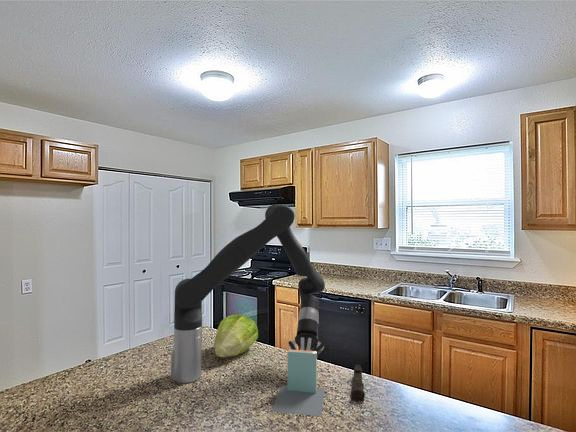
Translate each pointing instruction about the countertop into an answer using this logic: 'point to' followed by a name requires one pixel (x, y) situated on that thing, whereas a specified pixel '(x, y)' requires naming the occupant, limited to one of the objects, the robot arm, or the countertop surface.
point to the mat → (299, 402)
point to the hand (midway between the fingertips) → (304, 370)
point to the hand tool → (357, 385)
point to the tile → (302, 371)
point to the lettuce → (235, 335)
